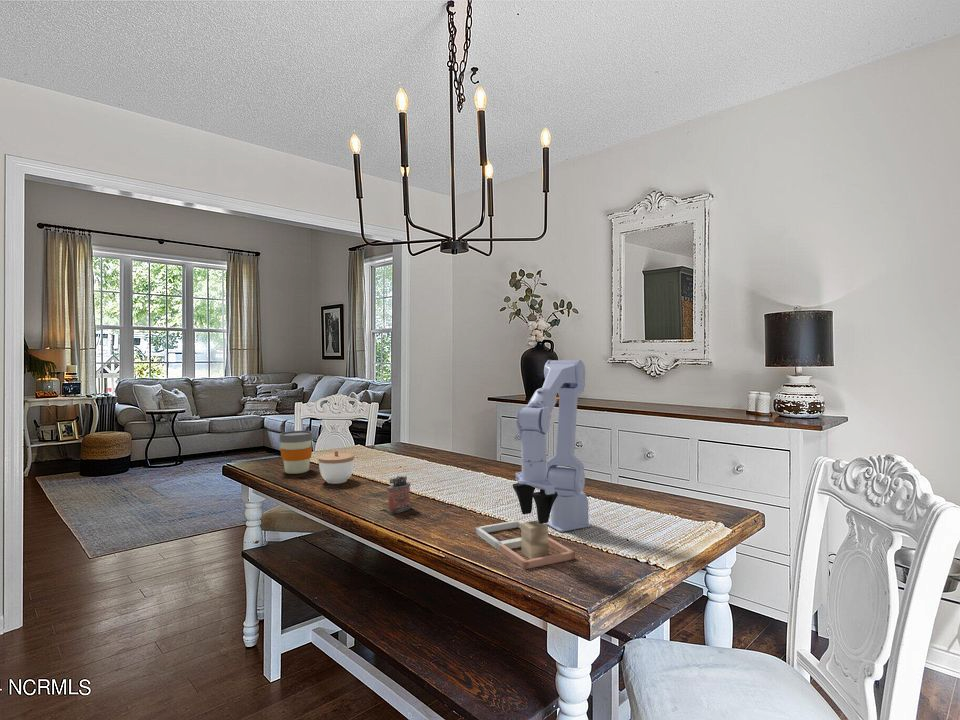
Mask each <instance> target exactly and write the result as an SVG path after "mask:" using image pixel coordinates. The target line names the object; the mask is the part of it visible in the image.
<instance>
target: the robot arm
mask: <svg viewBox="0 0 960 720" xmlns="http://www.w3.org/2000/svg"><path fill="white" fill-rule="evenodd" d="M585 367H586V365H585V363H584V361H582V359H576V360H574V359H573V360H569V359H565V360H559V359H556V360H554V359H553V360H552V359H548V360H547V361H546V362H545V364H544V368H543V375H544V381H543V384H542V387H540V388H538V389H536V390H535V391H534V393H533V395H532V396H531V398H530V400H529V401H528V403H527V405H526V406H525V407H524V406H523V407H522V408H521V409H519V410H518V412H517V414H516V415H517V416H516V422H515V423H516V428H517V431H518V438H519V440H520V443H521V444H520V449H521V450H520V451H521V452H520V453H521V456H520V458H521V471H519V472H515V481H516V483H513V484H512V488H513V490H514V491H515V493H516V497H517V499H518V502H519V506H520V510H521V513H522V515H530V514H532V511H533V500H534V503H535V508H536V515H537V520H538V522H539V523H540V524H543V523H544V524H546V525H547V526H548V527H549V528H553V529H554V530H556V531H558V532H561V533H562V532H567V531H573V530H579V529H584V528H590V527H591V524H590V523H589V500H588V496H587V494H586V493H585V492H584V488H585V484H586V476H585V474H586V473H585V465H584V464H583V462H582V461H581V460H580V459H579V458H577V457H576V456H575V446H576V429H577V427H576V426H577V415H578V414H577V413H578V412H577V411H578V399H579V395H580V394H581V393H583V392H585V386H586V368H585ZM557 395H558V396H559V400H558V401H559V402H558V401H557ZM557 402H558V403H559V404H558V419H557V420H558V421H557V432H556V433H557V434H556V449H555V455H553V456H552V457H551V458H550V459H548V460H547V432H548V431H549V430H550V425H551V419H552V415H551V414H552V411H553V410H554V408H555V406H556V404H557ZM563 466H564V467H563ZM570 467H571V468H570ZM535 489H536V490H539V491H536V490H535ZM535 491H536V492H535ZM550 515H551V516H550Z"/></svg>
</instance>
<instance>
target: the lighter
mask: <svg viewBox="0 0 960 720" xmlns="http://www.w3.org/2000/svg"><path fill="white" fill-rule="evenodd" d="M407 480H408V477H407V475H403V476H400V475H397V476H396V477H393V478H390V479H389V484H392V485H389V486H387V487H386V488H387V496H388V499H387V501H388V509H387V513H388V514H389V515H391V514H398V513H401V512H405V511H408V510H410V509H412V505H411V504H412V503H411V482H410V481H407Z"/></svg>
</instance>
